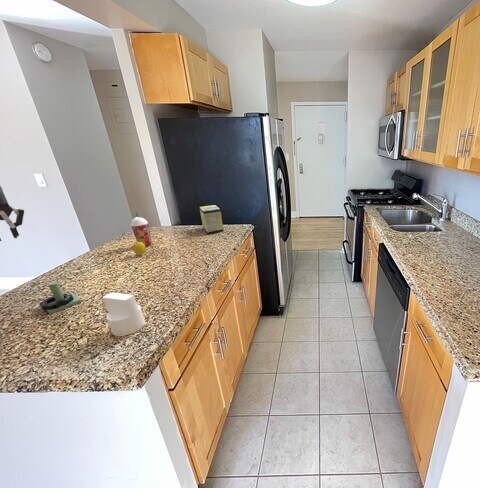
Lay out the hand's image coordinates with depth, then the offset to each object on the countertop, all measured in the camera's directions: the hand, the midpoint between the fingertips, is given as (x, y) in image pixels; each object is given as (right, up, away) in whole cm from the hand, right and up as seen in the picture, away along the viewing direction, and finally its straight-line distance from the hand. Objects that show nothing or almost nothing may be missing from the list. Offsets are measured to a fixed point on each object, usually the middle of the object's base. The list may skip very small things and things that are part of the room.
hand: (7, 239), depth 94 cm
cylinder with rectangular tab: (+50, -30, -7) cm, 58 cm away
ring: (+15, -24, +3) cm, 28 cm away
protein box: (+38, +8, +85) cm, 94 cm away
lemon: (+16, -8, +46) cm, 50 cm away
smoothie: (+9, -3, +59) cm, 60 cm away
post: (+15, -25, +5) cm, 29 cm away
